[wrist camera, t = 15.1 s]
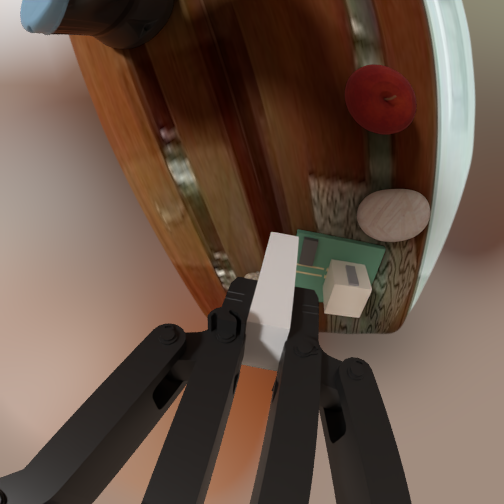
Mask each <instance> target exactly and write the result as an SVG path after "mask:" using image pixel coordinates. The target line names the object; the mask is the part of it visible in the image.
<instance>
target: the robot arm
mask: <svg viewBox="0 0 504 504" xmlns="http://www.w3.org/2000/svg"><path fill="white" fill-rule="evenodd" d="M173 3H174V0H23V1H22V5H21V12H20V14H21V15H20V16H21V23H22V26H23V27H24V29H25V30H26V31H28V32H30V33H43V34H45V35H50V34H68V35H89V36H93V37H95V38H96V39H98V40H99V41H101V42H102V43H103V44H105V45H107V46H109V47H112V48H119V49H130V48H134V47H137V46H140V45H142V44H144V43H145V42H147V41H149V40H150V39H151V38H153V37H154V36H155V35H156V34H157V33H158V32H159V31H160V30H161V29H162V28H163V26H164V25H165V23H166V22H167V20H168V19H169V17H170V14H171V12H172V8H173ZM298 242H299V237H298V236H292V235H286V234H281V233H275V232H271V235H270V238H269V242H268V246H267V250H266V253H265V257H264V261H263V264H262V268H261V272H260V275H259V279H258V280H253V279H248V278H242V277H237V278H236V279H235V280H234V281H233V282H232V283H231V285H230V287H229V290H228V292H227V295H226V298H225V300H224V302H223V305H222V307H220V308H216V309H214V310H213V311H211V312H210V314H209V315H208V330H205V331H203V332H192V333H185V332H184V331H183V329H182V328H181V327H179V326H178V325H175V324H163V325H160V326H158V327H157V328H155V329H154V330H153V331H152V332H151V333H150V334H149V335H148V336H147V337H146V338H145V339H144V340H143V341H142V342H141V343H140V344H139V345H138V346H137V347H136V348H135V349H134V351H132V353H131V354H130V355H129V356H128V357H127V358H126V359H125V360H124V361H123V362H122V363H121V364H120V365H119V366H118V367H117V368H116V369H115V370H114V372H113V373H112V374H111V375H110V376H109V377H108V378H107V379H106V380H105V381H104V382H103V383H102V384H101V385H100V386H99V387H98V389H96V391H95V392H94V393H93V394H92V395H91V396H90V397H89V398H88V399H87V400H86V401H85V402H84V403H83V404H82V406H81V407H80V408H79V409H78V410H77V411H76V412H75V413H74V414H73V416H72V417H70V419H69V420H68V421H67V422H66V423H65V424H64V425H63V426H62V427H61V428H60V429H59V431H58V432H57V433H56V434H55V435H54V436H53V437H52V438H51V440H50V441H49V442H48V443H47V444H46V445H45V446H44V447H43V448H42V449H41V450H40V452H39V453H38V454H37V455H36V456H35V457H34V458H33V459H32V461H31V462H30V463H29V464H28V465H27V466H26V467H25V468H24V469H23V470H20V471H18V472H15V473H12V474H10V475H7V476H4V477H1V478H0V504H92V503H93V502H94V501H95V499H96V498H97V497H98V496H99V495H100V494H101V492H102V491H103V490H104V489H105V488H106V486H107V485H108V484H109V483H110V481H111V480H112V479H113V478H114V477H115V475H116V474H117V473H118V472H119V470H120V469H121V468H122V467H123V465H124V464H125V463H126V462H127V461H128V459H129V458H130V457H131V455H132V454H133V453H134V452H135V450H136V449H137V448H138V447H139V446H140V444H141V443H142V442H143V440H144V439H145V438H146V437H147V435H148V434H149V433H150V432H151V430H152V429H153V428H154V426H155V425H156V424H157V422H158V421H159V420H160V418H161V417H162V416H163V415H164V413H165V412H166V411H167V410H168V408H169V407H170V406H171V404H172V403H173V402H174V400H175V399H176V398H177V396H178V395H179V394H180V392H181V391H182V390H183V388H184V387H185V386H186V384H187V386H186V388H185V391H184V393H183V396H182V398H181V401H180V404H179V406H178V409H177V411H176V414H175V417H174V419H173V422H172V424H171V427H170V430H169V432H168V434H167V437H166V440H165V442H164V445H163V448H162V450H161V453H160V456H159V458H158V461H157V464H156V466H155V469H154V471H153V474H152V477H151V479H150V482H149V485H148V487H147V490H146V493H145V495H144V498H143V501H142V503H141V504H204V501H205V497H206V494H207V490H208V487H209V484H210V480H211V476H212V473H213V470H214V466H215V463H216V459H217V456H218V452H219V449H220V445H221V442H222V438H223V434H224V430H225V427H226V423H227V419H228V416H229V412H230V409H231V405H232V402H233V398H234V394H235V390H236V387H237V382H238V379H239V374H240V368H241V364H242V365H247V366H252V367H258V368H263V369H268V370H274V371H277V370H278V371H277V377H276V380H275V383H274V386H273V389H272V391H273V394H272V400H271V405H270V411H269V416H268V421H267V426H266V432H265V437H264V442H263V446H262V452H261V456H260V461H259V466H258V470H257V475H256V479H255V483H254V488H253V492H252V496H251V500H250V504H308V503H309V497H310V490H311V483H312V476H313V468H314V459H315V450H316V439H317V428H318V415H319V414H318V413H319V411H320V416H321V421H322V426H323V431H324V436H325V441H326V447H327V452H328V458H329V463H330V469H331V474H332V480H333V486H334V491H335V498H336V503H337V504H411V500H410V495H409V491H408V486H407V482H406V478H405V474H404V470H403V466H402V463H401V459H400V455H399V452H398V448H397V445H396V441H395V438H394V435H393V431H392V429H391V425H390V422H389V419H388V415H387V412H386V409H385V406H384V403H383V400H382V397H381V394H380V392H379V389H378V386H377V383H376V380H375V377H374V374H373V372H372V369H371V368H370V366H369V364H368V363H366V362H365V361H364V360H362V359H359V358H353V357H351V358H348V359H345V360H344V361H343V362H342V361H340V360H337V359H335V358H332V357H331V356H329V355H327V354H326V353H325V352H324V351H323V350H322V349H321V347H320V345H319V342H318V327H319V315H318V314H319V308H318V307H319V298H318V296H317V294H316V292H315V290H312V289H307V288H301V287H295V277H296V266H297V254H298Z"/></svg>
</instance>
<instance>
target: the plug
mask: <svg viewBox="0 0 504 504" xmlns="http://www.w3.org/2000/svg"><path fill="white" fill-rule="evenodd" d="M371 291H372V287H371V284H370V280H369V277H368V273H367V270H366V267H365V265H363V264H357V263H351V262H346V261H340V260H334V259H331V262H330V265H329V269H328V272H327V275H326V278H325V282H324V285H323V299H324V313H326V314H333V315H341V316H348V317H356V318H359V317H360V315H361V313H362V311H363V309H364V307H365V305H366V302H367V300H368V298H369V296H370V293H371Z"/></svg>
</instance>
